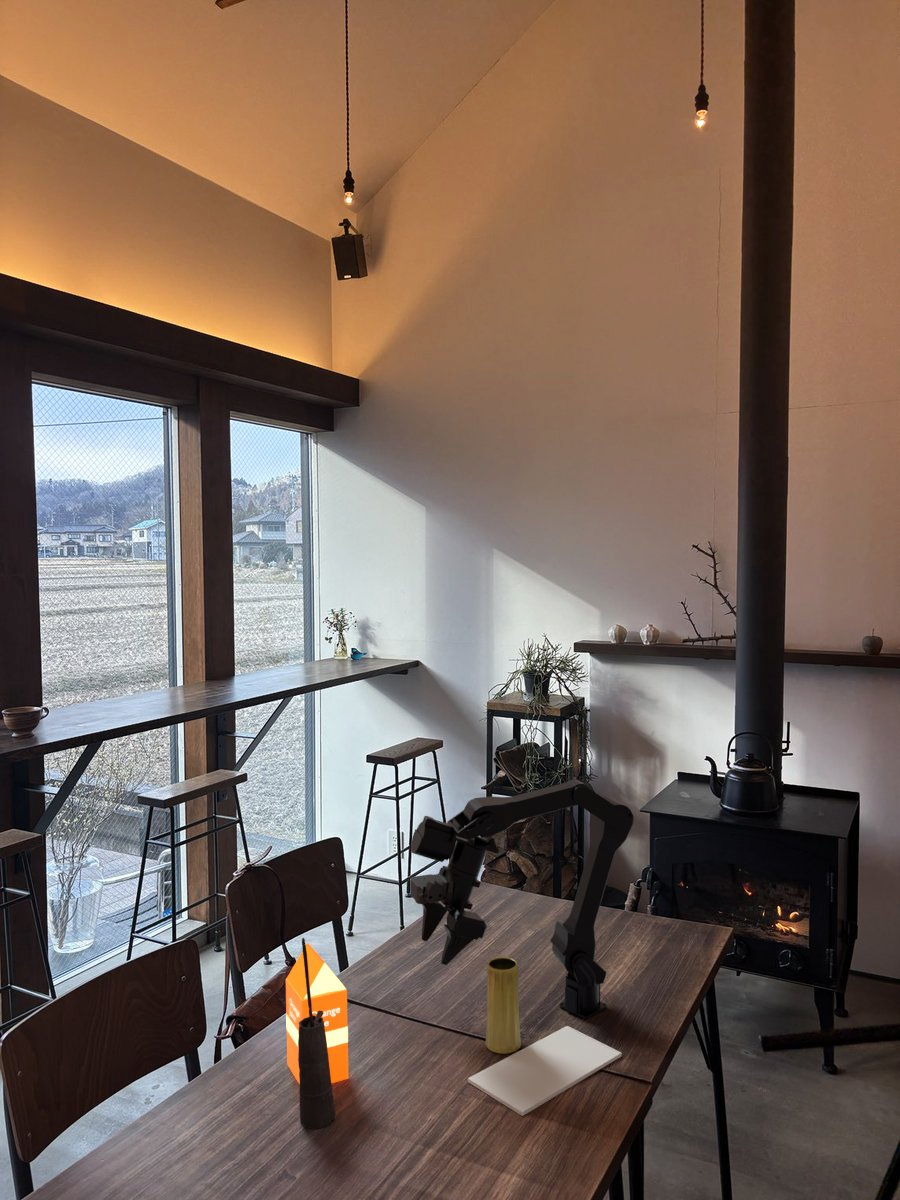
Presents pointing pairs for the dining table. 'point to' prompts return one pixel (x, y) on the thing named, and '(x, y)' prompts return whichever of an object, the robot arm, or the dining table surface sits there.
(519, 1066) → the mat
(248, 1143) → the dining table surface
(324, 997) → the orange juice
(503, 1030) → the vase
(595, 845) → the robot arm
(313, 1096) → the butter churn
